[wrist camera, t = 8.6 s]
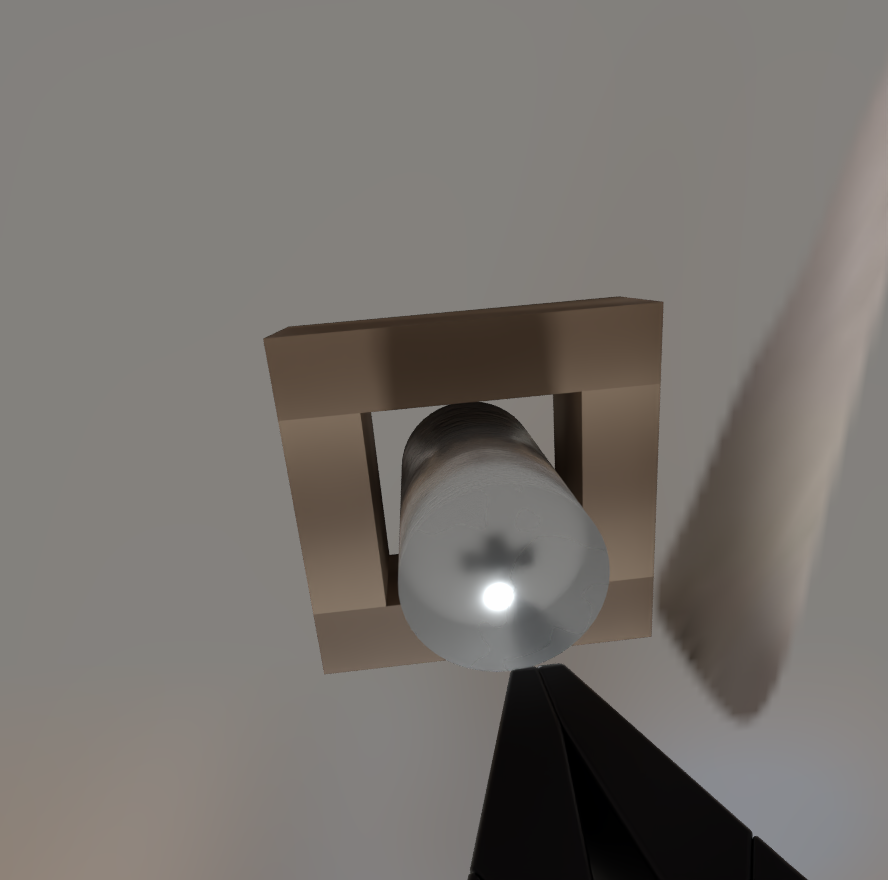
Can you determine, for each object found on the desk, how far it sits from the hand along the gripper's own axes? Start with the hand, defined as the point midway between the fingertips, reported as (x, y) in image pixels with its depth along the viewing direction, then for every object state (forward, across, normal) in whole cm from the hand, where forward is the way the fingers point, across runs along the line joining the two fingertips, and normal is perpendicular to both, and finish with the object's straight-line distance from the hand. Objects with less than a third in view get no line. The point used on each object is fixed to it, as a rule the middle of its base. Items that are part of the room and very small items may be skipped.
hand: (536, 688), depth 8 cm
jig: (+10, 0, 0) cm, 10 cm away
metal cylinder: (+10, 0, 0) cm, 10 cm away
